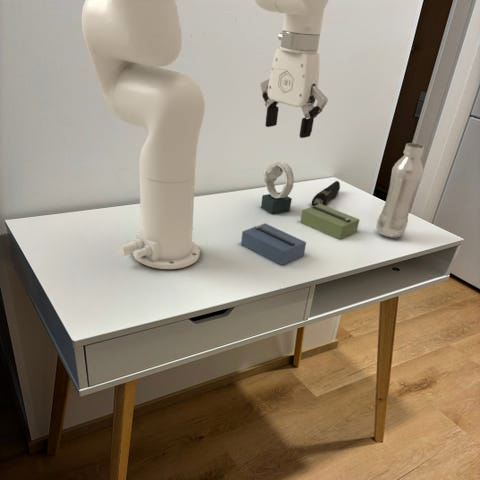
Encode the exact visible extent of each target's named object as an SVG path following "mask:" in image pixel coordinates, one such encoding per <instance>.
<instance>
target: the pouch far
mask: <svg viewBox="0 0 480 480" xmlns="http://www.w3.org/2000/svg"><path fill="white" fill-rule="evenodd" d="M360 220H361V219H360V218H357V217H355V216H352V215H350V214H348V213H344V212H342V211H339V210H337V209H334V208H332V207H329V206H327V205H326V206H325V205H322V204H318V205H315V206H312V205H311V206H310V207H307V208H304V209H302V210H301V216H300V223H302V224H303V225H306V226H308V227H309V228H313V229H315V230H317V231H319V232H322V233H324V234H327V235H329V236H331V237H334V238H336V239H338V240H341V239H343V238H346V237H349V236H350V235H353V234H355V233H357V231H358V228H359V225H360Z"/></svg>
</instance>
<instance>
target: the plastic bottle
mask: <svg viewBox="0 0 480 480" xmlns="http://www.w3.org/2000/svg"><path fill="white" fill-rule="evenodd" d="M424 151H425V146H424V145H422V144H419V143H414V142H408V143H406V144H405V147H404V150H403V156H401V157H400V158H399V159H398V160H397V161H396V162H395V163H394V165H393V166H392V168H391V174H390V181H389V187H388V192H387V196H386V200H385V203H384V204H383V207H382V211H381V212H380V214H379V216H378V219H377V220H376V230H377V232H378V233H379V234H380V235H381V236H384V237H387V238H394V239H395V238H400V237H401V236H403V234H404V233H405V231H406V230H407V227H408V221H409V218H408V217H409V215H410V210H411V206H412V202H413V198H414V197H415V194H416V191H417V189H418V187H419V185H420V183H421V180H422V179H423V176H424V166H423V163H422V160H421V158H422V157H423V154H424Z"/></svg>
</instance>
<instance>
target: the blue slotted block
mask: <svg viewBox="0 0 480 480" xmlns="http://www.w3.org/2000/svg"><path fill="white" fill-rule="evenodd" d="M240 244H241V246H243V247H245V248H247V249H249V250H251V251H253V252H255V253H257V254H259V255H261V256H263V257H265V258H267V259H268V260H271V261H272V262H275V263H277V264H279V265H280V266H284V265H286V264H288V263H290V262H293V261H295V260H297V259H299V258H301V257H304V256H305V251H306V247H307V242H306V241H305V240H302V239H300V238H298V237H296V236H293V235H292V234H289V233H287V232H285V231H283V230H281V229H280V228H279V229H278V228H276V227H274V226H271V224H269V223H268V224H267V223H262V224H258V225H255V226H254V227H251V228H248V229H245V230H243V231H242V232H241V241H240Z"/></svg>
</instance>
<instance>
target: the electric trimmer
mask: <svg viewBox="0 0 480 480" xmlns="http://www.w3.org/2000/svg"><path fill="white" fill-rule="evenodd" d="M340 189H341V183H340V181H339V180H335V181H334V182H333V183H331V184H330V185H328V186H327V187H325V188H324V189H321V190H320V191H319V192H318V193H316V194H315V196H314V197H312V200H311V207H312V206H315V205H318V204H322V205H325V206H327V204H328V201H329V200H330V199H334V198H336V196H337V195H338V193H339V192H340Z"/></svg>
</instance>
